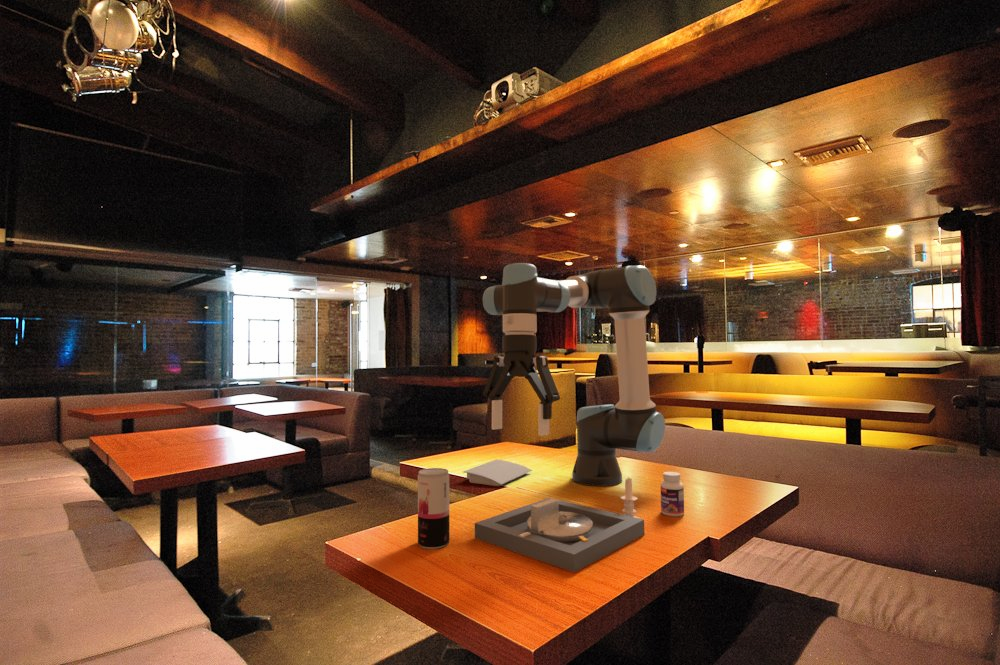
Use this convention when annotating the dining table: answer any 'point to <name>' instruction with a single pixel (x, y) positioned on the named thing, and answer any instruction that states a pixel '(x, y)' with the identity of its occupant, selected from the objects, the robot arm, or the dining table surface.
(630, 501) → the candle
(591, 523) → the dial
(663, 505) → the pill bottle
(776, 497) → the dining table surface
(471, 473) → the book
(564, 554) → the panel
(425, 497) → the beverage can
